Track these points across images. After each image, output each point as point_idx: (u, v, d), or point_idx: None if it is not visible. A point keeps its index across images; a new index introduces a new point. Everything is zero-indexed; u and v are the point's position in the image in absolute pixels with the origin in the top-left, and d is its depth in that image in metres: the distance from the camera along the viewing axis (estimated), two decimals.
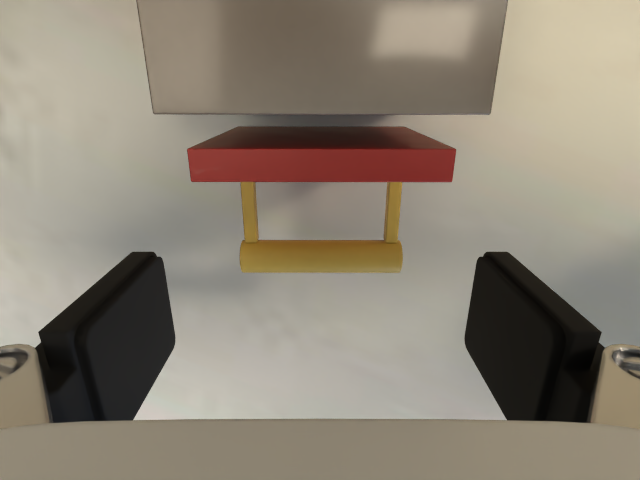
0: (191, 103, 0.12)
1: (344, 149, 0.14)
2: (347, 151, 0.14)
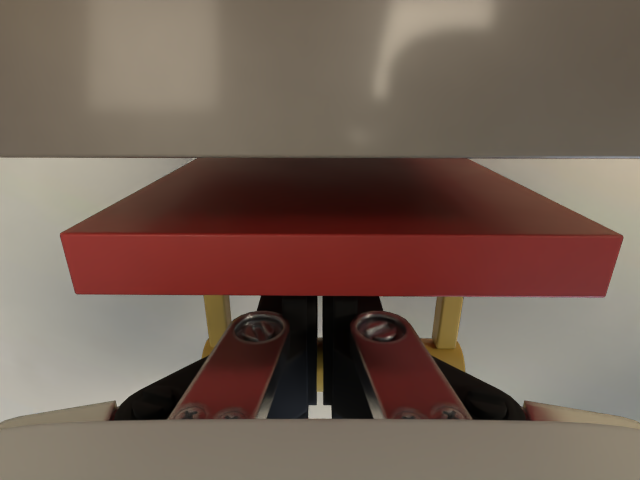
0: (24, 132, 0.05)
1: (387, 235, 0.06)
2: (393, 239, 0.06)
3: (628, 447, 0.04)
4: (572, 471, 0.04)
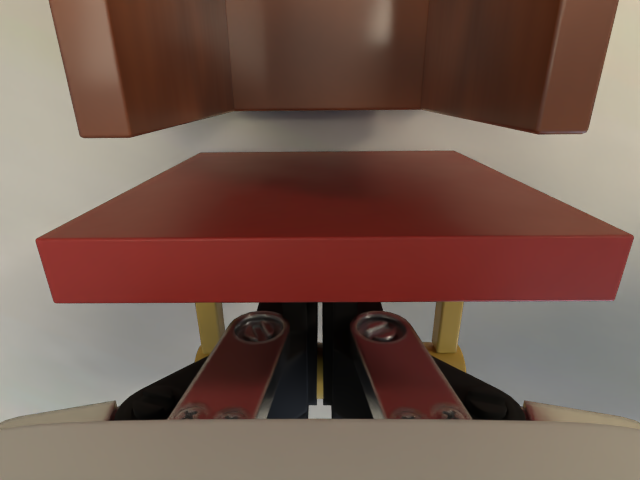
0: None
1: (383, 238, 0.06)
2: (390, 241, 0.06)
3: (628, 447, 0.04)
4: (572, 471, 0.04)
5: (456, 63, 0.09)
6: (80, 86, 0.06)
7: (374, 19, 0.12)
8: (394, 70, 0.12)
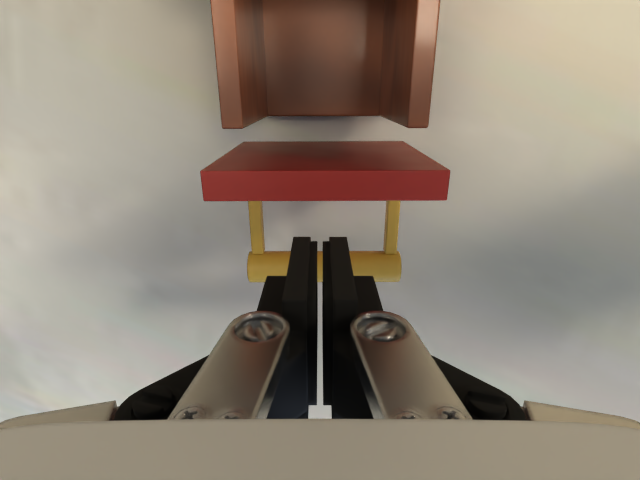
0: None
1: (346, 171, 0.15)
2: (349, 172, 0.15)
3: (628, 447, 0.04)
4: (572, 471, 0.04)
5: (390, 93, 0.18)
6: (225, 107, 0.14)
7: (351, 63, 0.20)
8: (363, 92, 0.21)
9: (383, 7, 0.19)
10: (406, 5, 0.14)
